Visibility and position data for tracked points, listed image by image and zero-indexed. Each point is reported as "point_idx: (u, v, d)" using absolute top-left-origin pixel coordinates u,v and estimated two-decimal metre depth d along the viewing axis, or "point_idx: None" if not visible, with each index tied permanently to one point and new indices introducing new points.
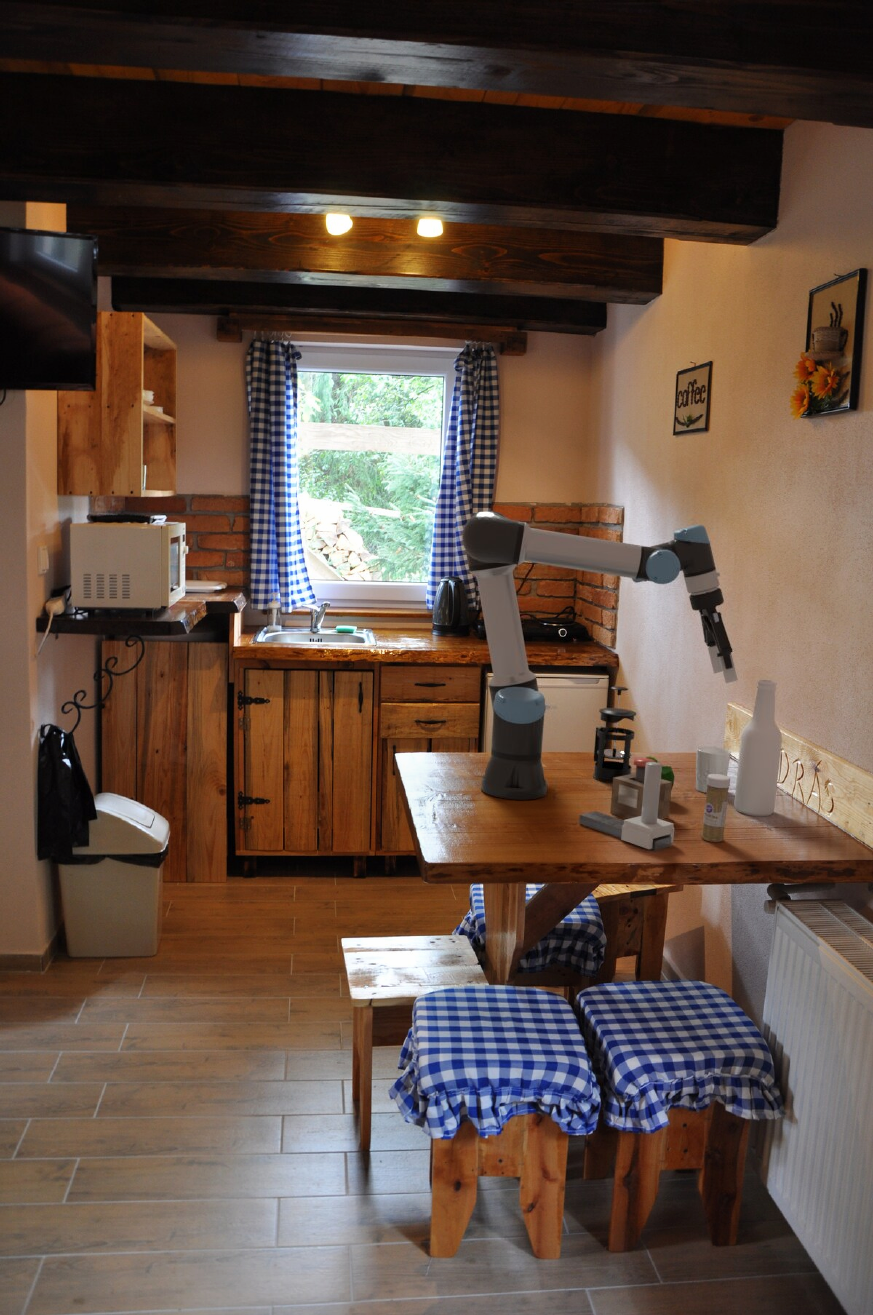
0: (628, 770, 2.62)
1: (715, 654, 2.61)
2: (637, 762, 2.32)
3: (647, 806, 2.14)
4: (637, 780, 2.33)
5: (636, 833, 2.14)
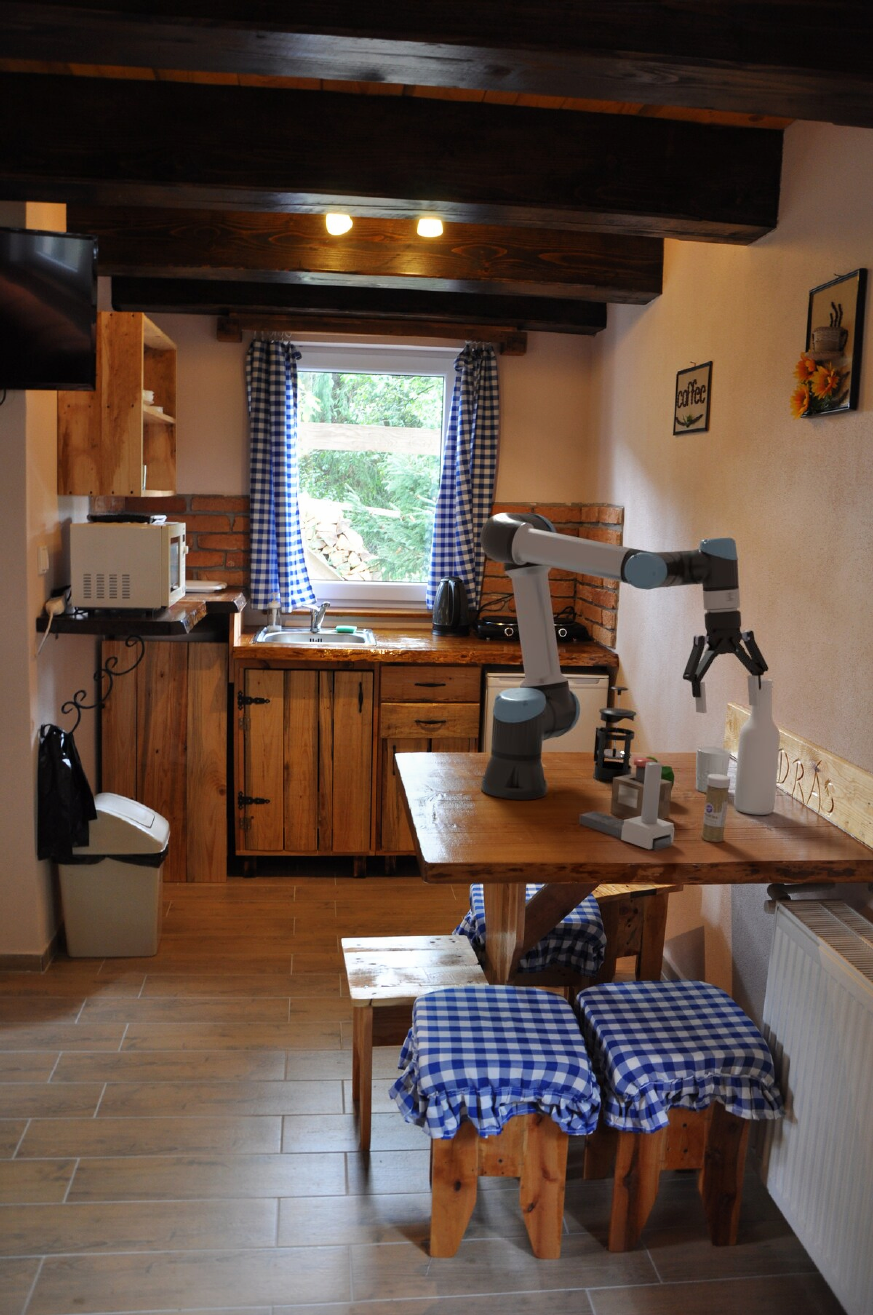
0: (628, 770, 2.62)
1: (751, 685, 2.33)
2: (637, 762, 2.32)
3: (647, 806, 2.14)
4: (637, 780, 2.33)
5: (636, 833, 2.14)
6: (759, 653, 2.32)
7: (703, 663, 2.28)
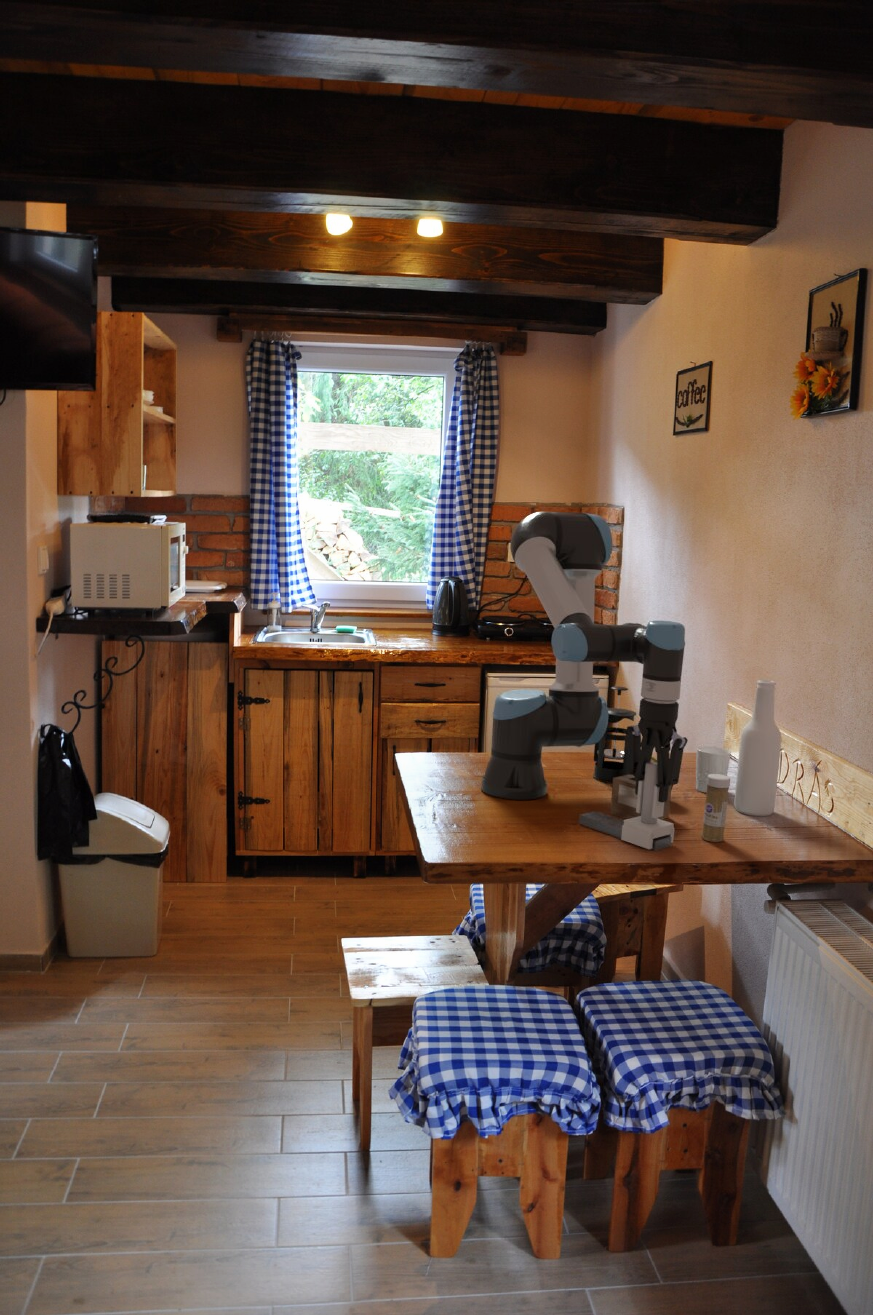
0: None
1: None
2: None
3: (647, 806, 2.14)
4: None
5: (636, 833, 2.14)
6: (672, 764, 2.09)
7: None
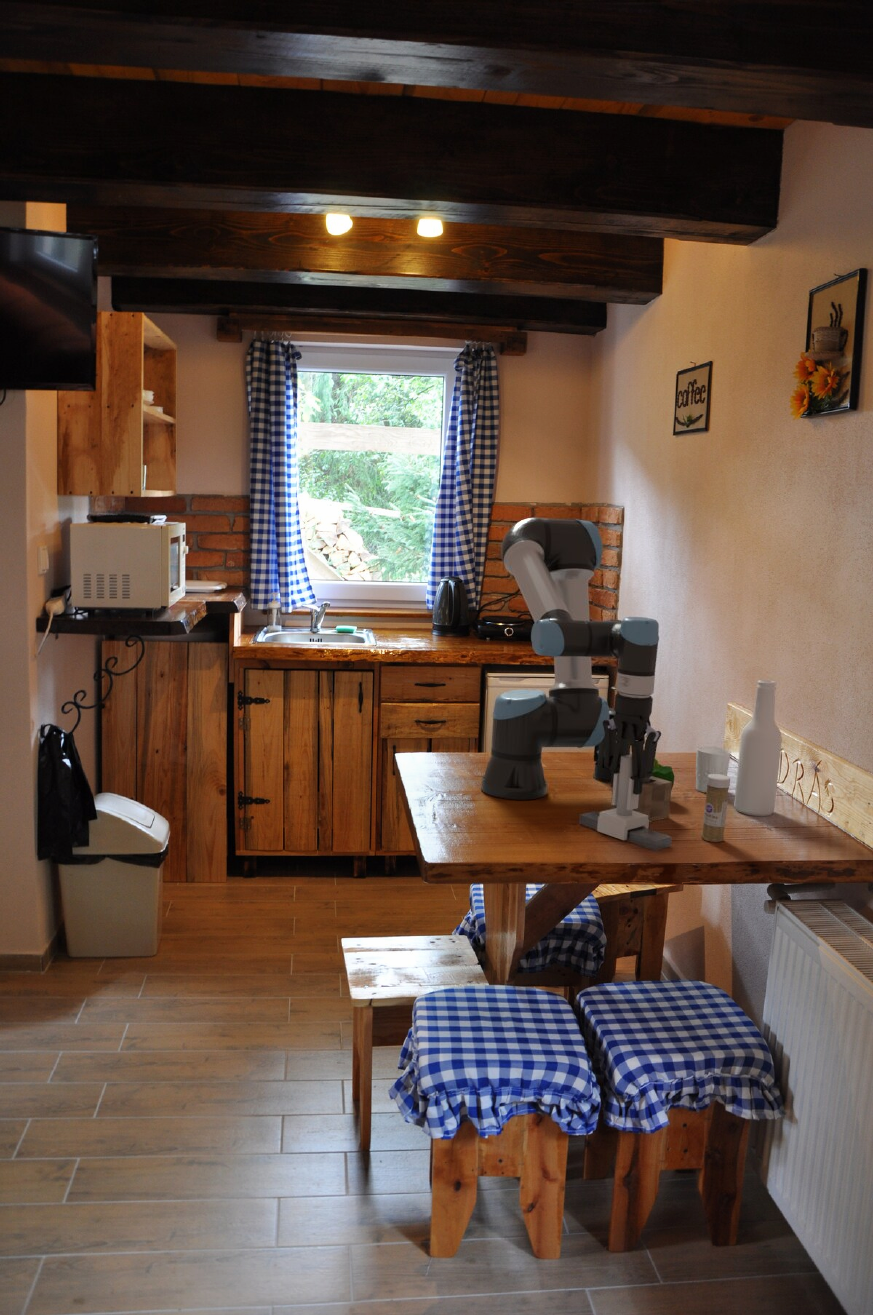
0: None
1: None
2: None
3: (622, 798, 2.19)
4: None
5: (611, 824, 2.18)
6: (646, 757, 2.14)
7: None
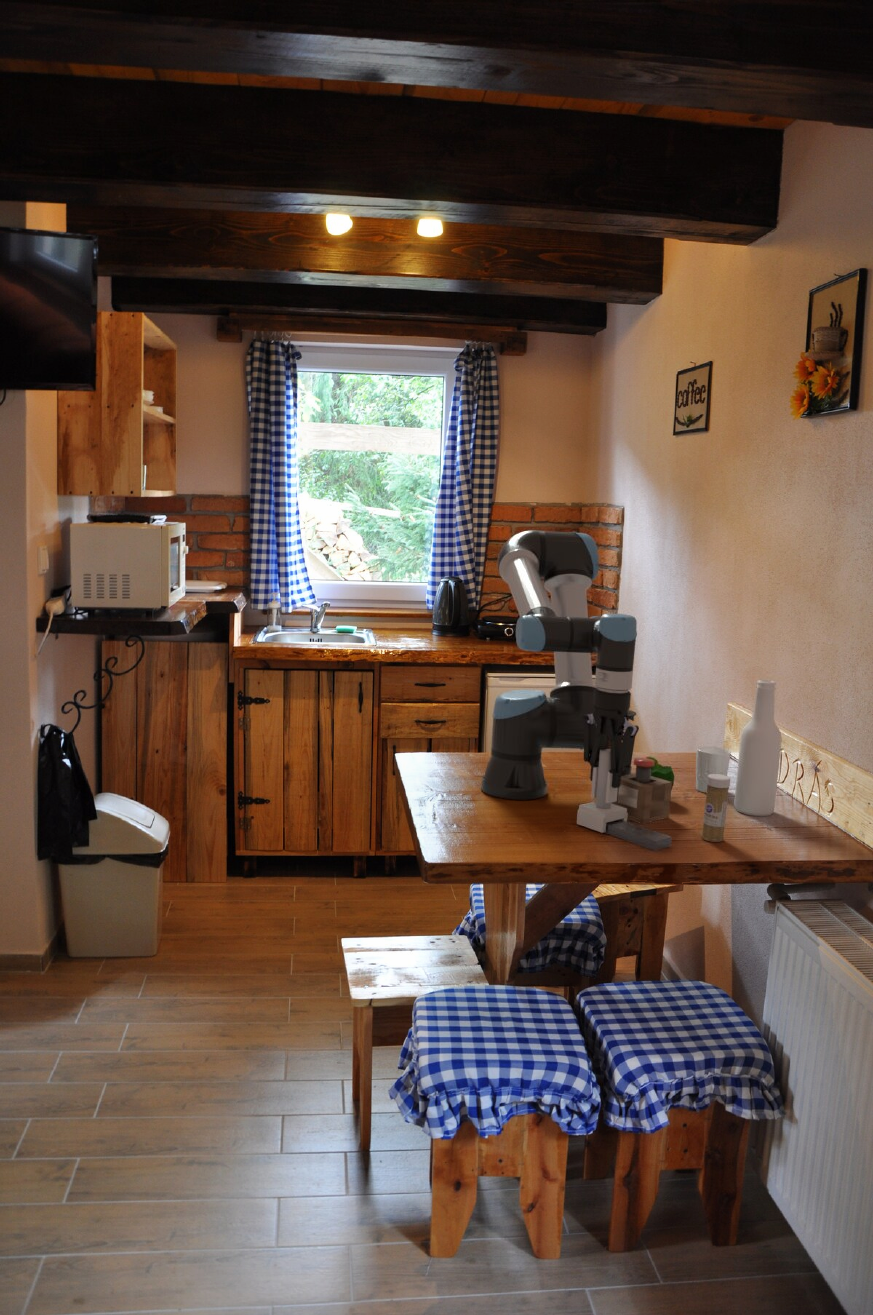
0: (628, 770, 2.62)
1: None
2: (637, 762, 2.32)
3: (601, 791, 2.23)
4: (637, 780, 2.33)
5: (590, 817, 2.22)
6: (624, 751, 2.18)
7: None
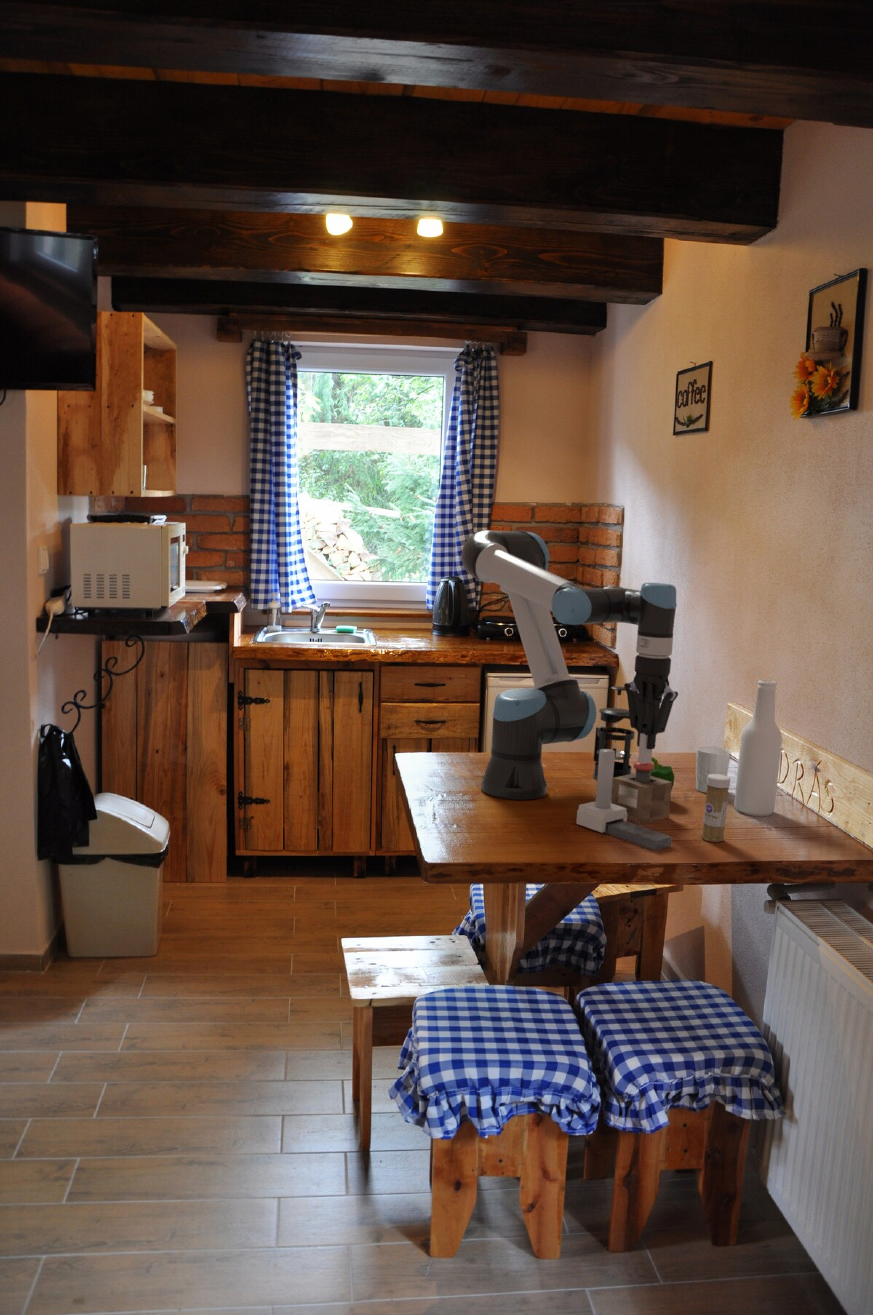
0: (628, 770, 2.62)
1: None
2: (637, 765, 2.32)
3: (601, 791, 2.23)
4: None
5: (590, 817, 2.22)
6: (661, 714, 2.28)
7: None
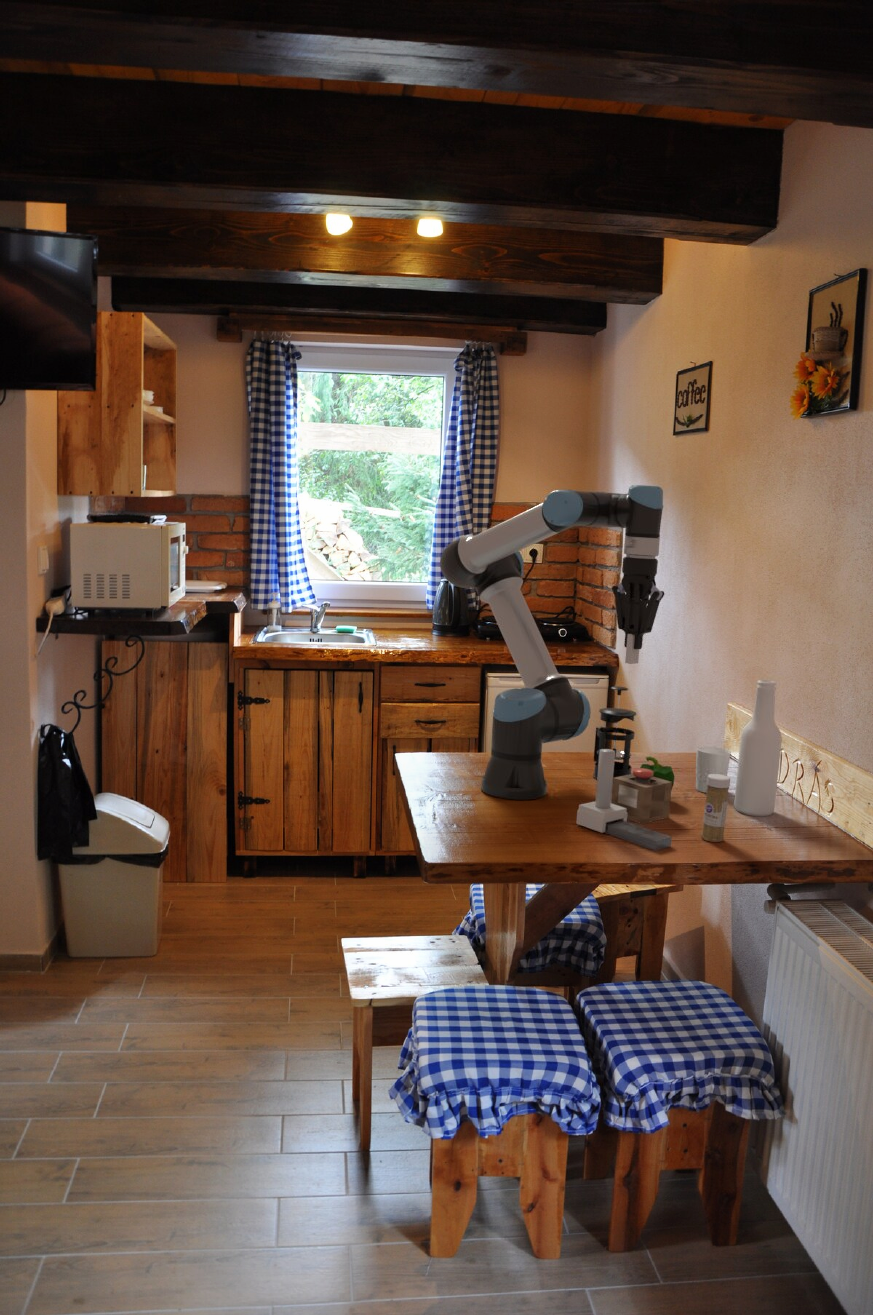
0: (628, 770, 2.62)
1: None
2: (636, 773, 2.33)
3: (601, 791, 2.23)
4: None
5: (590, 817, 2.22)
6: (647, 614, 2.33)
7: None
